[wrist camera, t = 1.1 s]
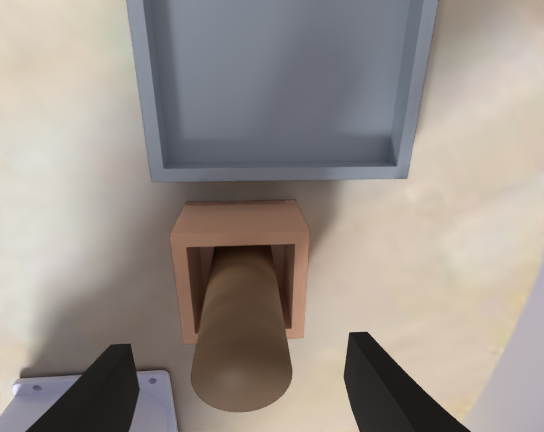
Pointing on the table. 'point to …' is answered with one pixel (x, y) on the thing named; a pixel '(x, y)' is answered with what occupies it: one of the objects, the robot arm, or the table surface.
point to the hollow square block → (236, 232)
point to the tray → (280, 87)
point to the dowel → (241, 333)
